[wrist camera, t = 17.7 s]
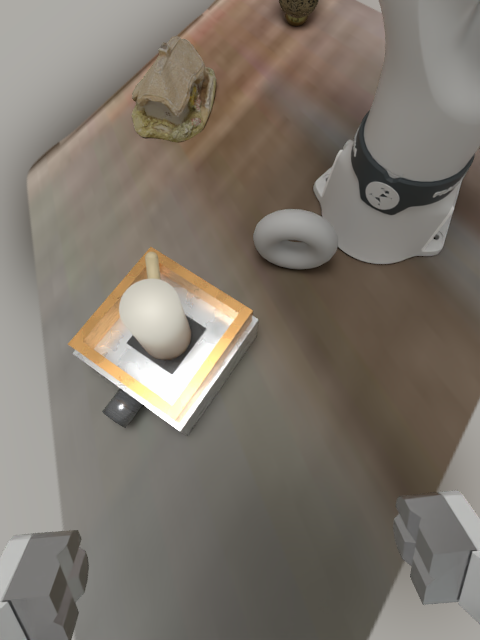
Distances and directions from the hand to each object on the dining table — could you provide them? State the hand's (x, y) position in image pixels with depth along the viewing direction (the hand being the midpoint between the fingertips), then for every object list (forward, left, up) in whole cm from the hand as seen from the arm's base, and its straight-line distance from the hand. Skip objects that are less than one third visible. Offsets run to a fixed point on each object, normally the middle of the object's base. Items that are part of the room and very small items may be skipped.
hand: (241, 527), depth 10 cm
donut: (-26, -10, -36) cm, 45 cm away
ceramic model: (-38, -38, -36) cm, 64 cm away
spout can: (-9, -16, -29) cm, 34 cm away
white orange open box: (-6, -15, -35) cm, 39 cm away
